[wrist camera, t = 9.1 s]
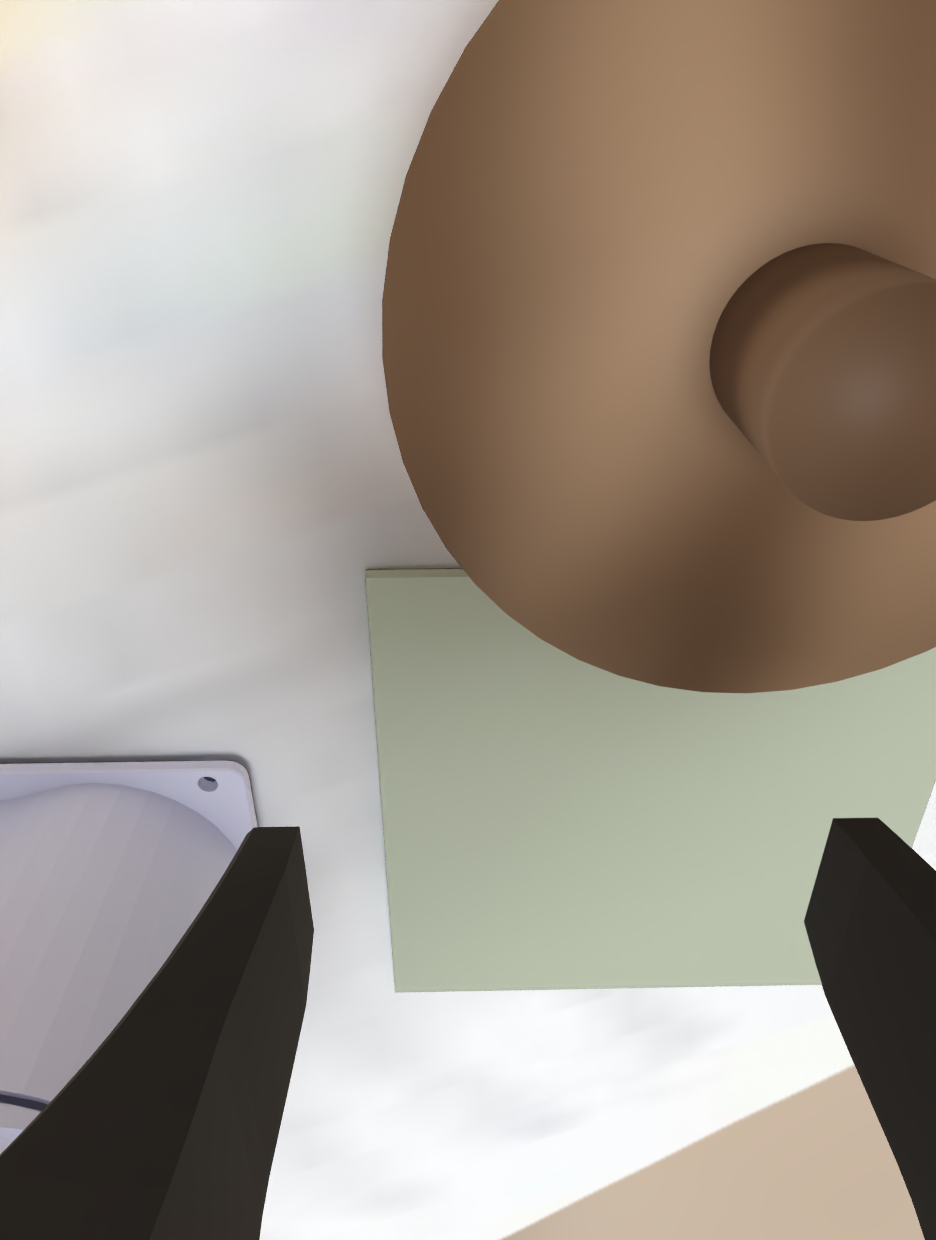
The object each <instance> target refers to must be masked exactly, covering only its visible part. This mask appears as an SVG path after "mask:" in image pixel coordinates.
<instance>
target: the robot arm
mask: <svg viewBox="0 0 936 1240" xmlns="http://www.w3.org/2000/svg"><path fill="white" fill-rule="evenodd" d="M206 776H207V777H212V778H213V779H215V780H216V781H214V782H211V781H207V780H205V779H204V778H203V777H206ZM804 924H805V928H806V931H807V935H808V938H809V942H810V946H811V949H812V953H813V956H814V960H815V963H816V967H817V970H818V973H819V976H820V980H821V983H822V986H823V989H824V993H825V996H826V998H827V1001H828V1003H829V1005H830V1008H831V1010H832V1013H833V1015H834V1017H835V1020H836V1022H837V1025H838V1027H839V1029H840V1032H841V1034H842V1036H843V1039H844V1041H845V1043H846V1046H847V1048H848V1050H849V1053H850V1055H851V1057H852V1060H853V1062H854V1064H855V1067H856V1069H857V1071H858V1074H859V1075H860V1078H861V1080H862V1083H863V1085H864V1087H865V1089H866V1092H867V1094H868V1096H869V1099H870V1101H871V1104H872V1106H873V1108H874V1110H875V1113H876V1115H877V1117H878V1120H879V1122H880V1124H881V1127H882V1129H883V1131H884V1134H885V1136H886V1138H887V1140H888V1142H889V1145H890V1147H891V1150H892V1152H893V1154H894V1156H895V1159H896V1161H897V1163H898V1166H899V1168H900V1171H901V1174H902V1176H903V1179H904V1181H905V1184H906V1187H907V1189H908V1192H909V1194H910V1197H911V1199H912V1202H913V1205H914V1208H915V1211H916V1214H917V1217H918V1220H919V1223H920V1226H921V1229H922V1232H923V1235H924V1238H925V1240H936V871H935V870H934V869H933V868H932V867H931V866H930V865H929V864H928V863H927V862H926V861H925V860H924V859H922V858H921V857H920V856H919V855H918V854H917V853H916V852H915V851H914V850H913V849H912V848H911V847H910V846H909V845H908V844H906V843H905V842H904V841H903V840H902V839H901V838H900V837H899V836H898V835H897V834H896V833H895V832H893V831H892V830H891V829H890V828H889V827H888V826H887V825H886V824H885V823H884V822H882V821H881V820H880V819H879V818H833V820H832V824H831V827H830V831H829V834H828V838H827V841H826V845H825V848H824V852H823V855H822V859H821V863H820V866H819V870H818V873H817V877H816V880H815V884H814V887H813V891H812V894H811V898H810V901H809V905H808V908H807V912H806V915H805V919H804ZM313 933H314V928H313V920H312V913H311V906H310V899H309V892H308V884H307V877H306V870H305V863H304V856H303V849H302V841H301V834H300V827H257V821H256V815H255V809H254V803H253V798H252V792H251V786H250V780H249V775H248V772H247V770H246V769H245V768H244V767H243V766H242V765H241V764H239V763H236V762H234V761H167V762H100V763H32V764H0V1240H259V1237H260V1229H261V1221H262V1215H263V1209H264V1203H265V1198H266V1192H267V1186H268V1181H269V1175H270V1171H271V1166H272V1162H273V1157H274V1152H275V1148H276V1143H277V1138H278V1134H279V1129H280V1125H281V1120H282V1115H283V1111H284V1106H285V1101H286V1097H287V1092H288V1088H289V1083H290V1078H291V1074H292V1069H293V1064H294V1060H295V1055H296V1050H297V1046H298V1041H299V1036H300V1031H301V1027H302V1022H303V1017H304V1012H305V1007H306V1000H307V992H308V983H309V974H310V964H311V954H312V943H313Z"/></svg>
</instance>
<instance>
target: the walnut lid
mask: <svg viewBox="0 0 936 1240" xmlns="http://www.w3.org/2000/svg"><path fill="white" fill-rule="evenodd" d="M382 330H383V365H384V373H385V380H386V388H387V395H388V403H389V411H390V415H391V419H392V423H393V426H394V430H395V434H396V437H397V441H398V445H399V448H400V452H401V456H402V460H403V463H404V465H405V468H406V470H407V472H408V475H409V477H410V480H411V482H412V484H413V487H414V489H415V491H416V494H417V496H418V499H419V501H420V503H421V506H422V508H423V510H424V511H425V513H426V515H427V516H428V518H429V520H430V521H431V523H432V525H433V526H434V528H435V530H436V532H437V533H438V535H439V537H440V538H441V540H442V542H443V543H444V545H445V547H446V548H447V550H448V551H449V552H450V553H451V555H452V556H453V557H454V558H455V560H456V561H457V562H458V563H459V565H460V566H461V567H462V568H463V570H464V571H465V572H466V574H467V575H468V576H469V577H470V579H471V580H472V581H473V582H474V584H476V585H477V586H478V587H479V588H480V589H481V590H482V591H483V592H484V593H485V594H486V595H487V596H488V597H489V598H490V599H491V600H492V601H493V602H494V603H495V604H496V605H497V606H498V607H499V608H501V609H502V610H503V611H504V612H505V613H506V614H507V615H508V616H510V617H511V618H512V619H514V620H515V621H517V622H518V623H519V624H521V625H522V626H523V627H525V628H526V629H528V630H529V631H530V632H532V633H533V634H534V635H536V636H537V637H538V638H540V639H541V640H543V641H545V642H547V643H549V644H550V645H552V646H554V647H556V648H558V649H560V650H561V651H563V652H565V653H567V654H569V655H570V656H572V657H574V658H576V659H578V660H580V661H583V662H585V663H588V664H590V665H593V666H595V667H598V668H600V669H603V670H605V671H608V672H611V673H613V674H616V675H618V676H622V677H626V678H630V679H634V680H637V681H641V682H645V683H649V684H653V685H657V686H661V687H668V688H676V689H683V690H690V691H697V692H711V693H759V692H772V691H785V690H794V689H800V688H805V687H811V686H816V685H822V684H827V683H833V682H838V681H841V680H845V679H848V678H852V677H855V676H859V675H862V674H866V673H869V672H873V671H876V670H880V669H883V668H885V667H888V666H891V665H893V664H896V663H898V662H901V661H903V660H906V659H909V658H911V657H914V656H916V655H919V654H921V653H924V652H926V651H929V650H931V649H933V648H935V647H936V0H499V1H498V3H497V4H496V6H495V7H494V8H493V10H492V11H491V13H490V14H489V15H488V17H487V18H486V20H485V21H484V23H483V24H482V25H481V27H480V28H479V30H478V31H477V32H476V34H475V35H474V37H473V38H472V39H471V41H470V42H469V44H468V45H467V46H466V48H465V50H464V52H463V54H462V55H461V57H460V59H459V61H458V63H457V65H456V67H455V68H454V70H453V72H452V74H451V76H450V78H449V79H448V81H447V83H446V85H445V87H444V89H443V91H442V92H441V94H440V96H439V98H438V100H437V102H436V104H435V105H434V107H433V109H432V111H431V113H430V116H429V119H428V121H427V124H426V126H425V129H424V131H423V134H422V136H421V139H420V142H419V144H418V147H417V149H416V152H415V154H414V157H413V160H412V162H411V165H410V167H409V170H408V172H407V175H406V178H405V182H404V186H403V190H402V194H401V198H400V202H399V206H398V210H397V214H396V218H395V222H394V226H393V229H392V233H391V237H390V244H389V252H388V260H387V268H386V276H385V284H384V292H383V299H382Z"/></svg>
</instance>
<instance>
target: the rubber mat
mask: <svg viewBox="0 0 936 1240" xmlns="http://www.w3.org/2000/svg"><path fill="white" fill-rule="evenodd" d="M365 581H366V595H367V608H368V622H369V636H370V650H371V664H372V678H373V691H374V705H375V719H376V733H377V747H378V761H379V774H380V788H381V802H382V816H383V830H384V844H385V857H386V871H387V885H388V899H389V913H390V927H391V940H392V954H393V968H394V982H395V992H444V991H498V990H552V989H606V988H660V987H714V986H769V985H822V983H821V980H820V976H819V973H818V970H817V967H816V963H815V960H814V956H813V953H812V949H811V946H810V942H809V938H808V935H807V931H806V928H805V924H804V919H805V915H806V912H807V908H808V905H809V901H810V898H811V894H812V891H813V887H814V884H815V880H816V877H817V873H818V870H819V866H820V863H821V859H822V855H823V852H824V848H825V845H826V841H827V838H828V834H829V831H830V827H831V824H832V820H833V818H879V819H880V820H881V821H882V822H884V823H885V824H886V825H887V826H888V827H889V828H890V829H891V830H892V831H893V832H895V833H896V834H897V835H898V836H899V837H900V838H901V839H902V840H903V841H904V842H905V843H906V844H908V845H909V846H910V847H911V848H912V846H913V843H914V840H915V837H916V834H917V832H918V829H919V826H920V823H921V820H922V817H923V815H924V812H925V809H926V806H927V803H928V801H929V798H930V795H931V792H932V789H933V786H934V784H935V781H936V647H935V648H933V649H931V650H929V651H926V652H924V653H921V654H919V655H916V656H914V657H911V658H909V659H906V660H903V661H901V662H898V663H896V664H893V665H891V666H888V667H885V668H883V669H880V670H876V671H873V672H869V673H866V674H862V675H859V676H855V677H852V678H848V679H845V680H841V681H838V682H833V683H827V684H822V685H816V686H811V687H805V688H800V689H794V690H785V691H772V692H759V693H711V692H697V691H690V690H683V689H676V688H668V687H661V686H657V685H653V684H649V683H645V682H641V681H637V680H634V679H630V678H626V677H622V676H618V675H616V674H613V673H611V672H608V671H605V670H603V669H600V668H598V667H595V666H593V665H590V664H588V663H585V662H583V661H580V660H578V659H576V658H574V657H572V656H570V655H569V654H567V653H565V652H563V651H561V650H560V649H558V648H556V647H554V646H552V645H550V644H549V643H547V642H545V641H543V640H541V639H540V638H538V637H537V636H536V635H534V634H533V633H532V632H530V631H529V630H528V629H526V628H525V627H523V626H522V625H521V624H519V623H518V622H517V621H515V620H514V619H512V618H511V617H510V616H508V615H507V614H506V613H505V612H504V611H503V610H502V609H501V608H499V607H498V606H497V605H496V604H495V603H494V602H493V601H492V600H491V599H490V598H489V597H488V596H487V595H486V594H485V593H484V592H483V591H482V590H481V589H480V588H479V587H478V586H477V585H476V584H474V582H473V581H472V580H471V579H470V577H469V576H468V575H467V574H466V572H465V571H464V570H463V569H403V570H367V571H366V577H365Z"/></svg>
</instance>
